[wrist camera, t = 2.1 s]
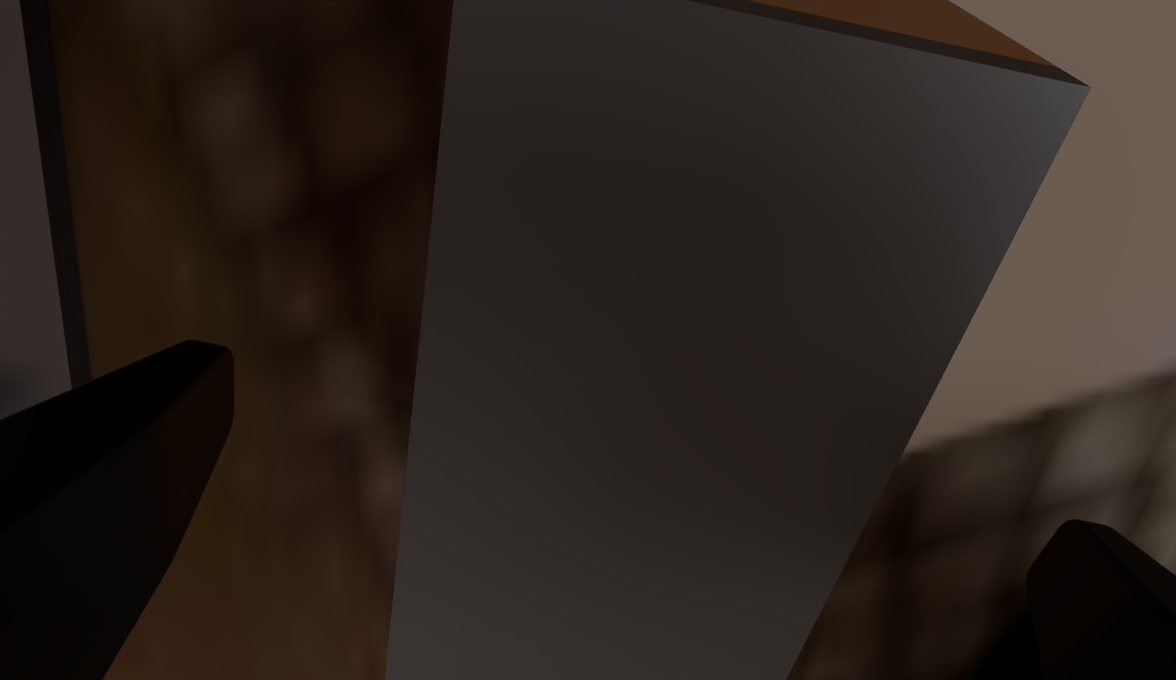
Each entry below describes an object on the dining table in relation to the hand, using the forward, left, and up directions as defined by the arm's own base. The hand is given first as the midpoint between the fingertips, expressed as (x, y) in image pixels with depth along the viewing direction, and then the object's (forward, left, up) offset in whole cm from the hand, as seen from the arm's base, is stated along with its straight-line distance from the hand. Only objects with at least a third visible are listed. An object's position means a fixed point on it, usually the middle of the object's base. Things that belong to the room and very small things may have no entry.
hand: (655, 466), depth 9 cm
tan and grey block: (0, 0, -6) cm, 6 cm away
